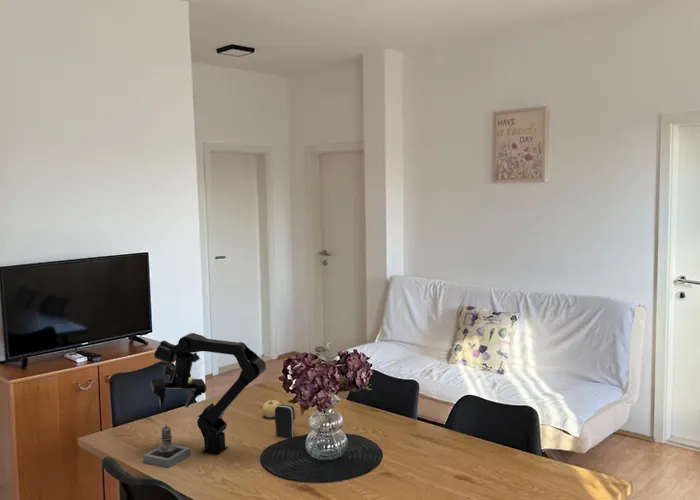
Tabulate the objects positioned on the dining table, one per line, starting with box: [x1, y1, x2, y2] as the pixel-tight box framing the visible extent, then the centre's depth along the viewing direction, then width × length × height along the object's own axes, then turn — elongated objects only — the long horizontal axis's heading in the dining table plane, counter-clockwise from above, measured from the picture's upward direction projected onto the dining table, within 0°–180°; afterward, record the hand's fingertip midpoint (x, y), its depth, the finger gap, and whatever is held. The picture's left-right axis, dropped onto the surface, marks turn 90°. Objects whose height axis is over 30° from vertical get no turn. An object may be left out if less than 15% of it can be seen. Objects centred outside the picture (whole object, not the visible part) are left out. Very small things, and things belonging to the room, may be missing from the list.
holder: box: [142, 444, 192, 469], centre depth 221 cm, size 11×11×2 cm
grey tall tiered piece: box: [158, 424, 176, 458], centre depth 221 cm, size 6×6×12 cm
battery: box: [274, 404, 296, 439], centre depth 239 cm, size 7×4×11 cm, turn 67°
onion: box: [261, 399, 282, 418], centre depth 260 cm, size 8×8×7 cm
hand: (173, 407), depth 231 cm, fingers open, 9 cm apart
